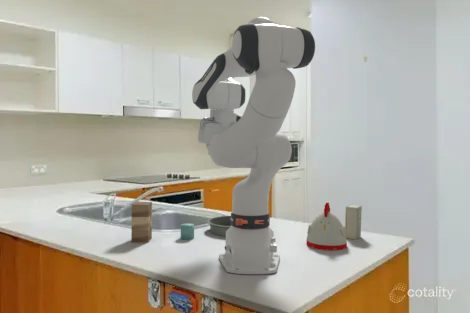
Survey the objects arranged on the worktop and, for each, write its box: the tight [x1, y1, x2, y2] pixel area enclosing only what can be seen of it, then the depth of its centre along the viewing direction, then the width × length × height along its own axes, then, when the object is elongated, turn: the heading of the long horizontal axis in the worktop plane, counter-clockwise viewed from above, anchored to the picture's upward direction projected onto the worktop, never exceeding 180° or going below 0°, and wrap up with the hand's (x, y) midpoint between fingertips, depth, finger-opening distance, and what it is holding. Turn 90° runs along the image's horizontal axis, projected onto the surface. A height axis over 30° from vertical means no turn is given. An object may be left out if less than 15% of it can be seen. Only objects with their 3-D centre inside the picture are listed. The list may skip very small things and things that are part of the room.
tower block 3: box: [130, 227, 153, 243], centre depth 147 cm, size 6×6×4 cm
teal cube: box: [180, 223, 195, 241], centre depth 151 cm, size 5×5×5 cm
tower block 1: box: [131, 201, 153, 218], centre depth 146 cm, size 6×6×4 cm
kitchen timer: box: [306, 202, 348, 251], centre depth 143 cm, size 14×14×15 cm
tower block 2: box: [131, 214, 153, 231], centre depth 147 cm, size 6×6×4 cm
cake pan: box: [206, 215, 231, 237], centre depth 164 cm, size 25×25×4 cm
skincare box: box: [344, 204, 363, 240], centre depth 155 cm, size 6×4×12 cm
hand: (220, 154), depth 153 cm, fingers open, 8 cm apart
